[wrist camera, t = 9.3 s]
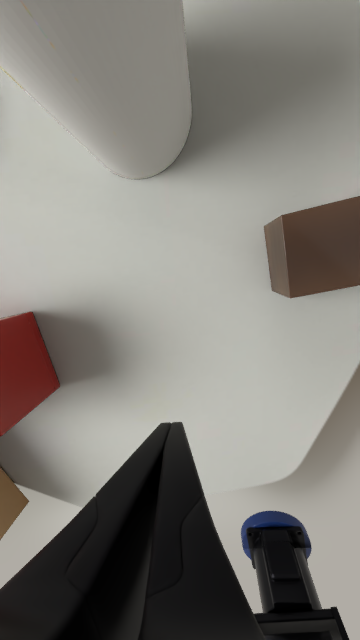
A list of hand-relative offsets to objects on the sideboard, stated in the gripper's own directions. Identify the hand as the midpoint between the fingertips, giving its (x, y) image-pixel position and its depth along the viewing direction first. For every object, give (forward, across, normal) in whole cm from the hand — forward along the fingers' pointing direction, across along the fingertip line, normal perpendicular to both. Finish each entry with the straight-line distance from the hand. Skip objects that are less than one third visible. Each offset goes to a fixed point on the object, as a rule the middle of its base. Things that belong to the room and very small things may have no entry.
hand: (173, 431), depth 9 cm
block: (+12, -9, -6) cm, 16 cm away
